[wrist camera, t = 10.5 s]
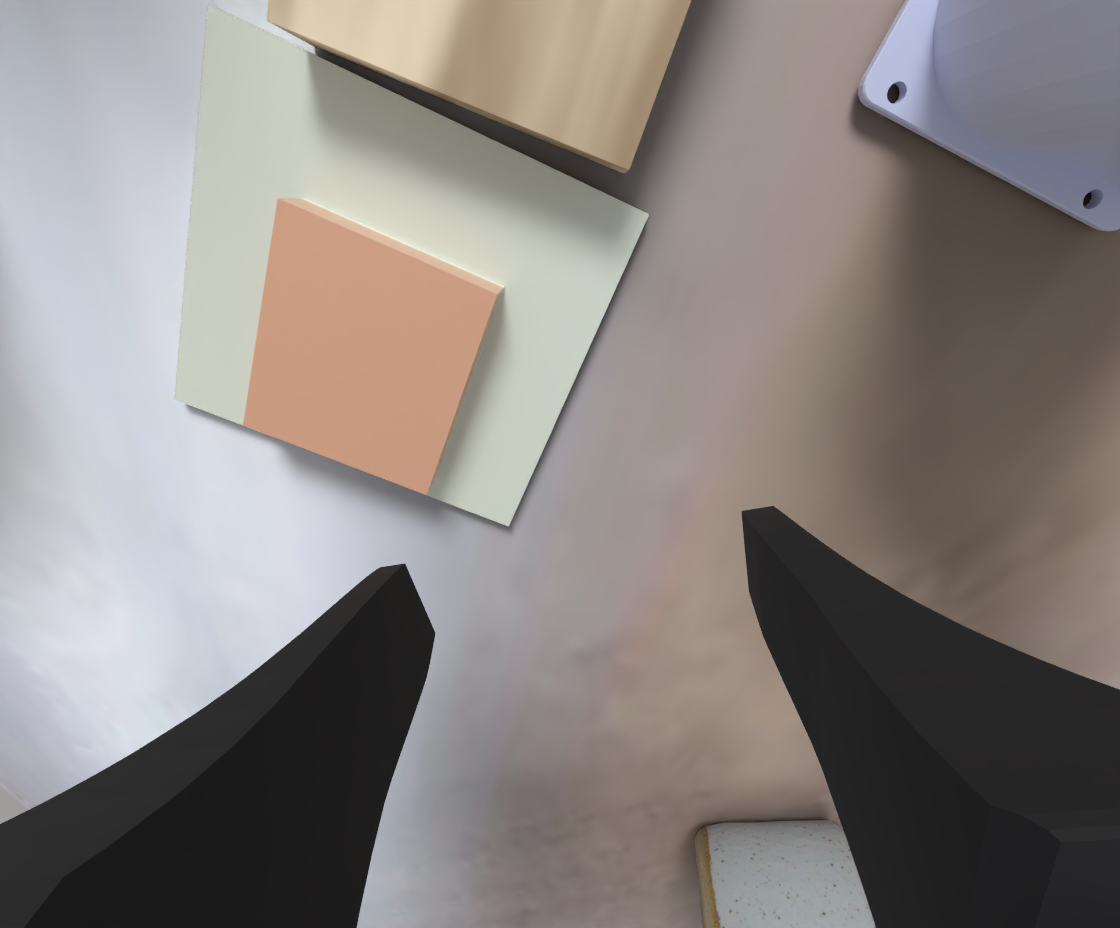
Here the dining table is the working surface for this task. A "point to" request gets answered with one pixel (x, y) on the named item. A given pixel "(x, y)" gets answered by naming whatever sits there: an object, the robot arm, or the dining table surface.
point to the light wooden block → (513, 59)
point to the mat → (407, 215)
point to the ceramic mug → (779, 876)
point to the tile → (364, 345)
